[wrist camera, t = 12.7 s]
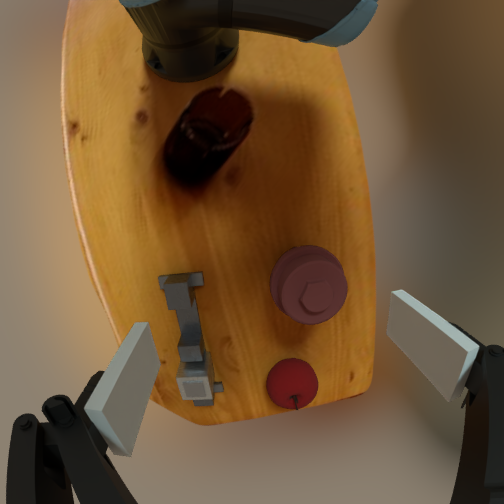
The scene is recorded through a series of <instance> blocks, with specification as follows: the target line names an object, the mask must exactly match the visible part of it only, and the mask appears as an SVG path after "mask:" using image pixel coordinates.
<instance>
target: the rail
mask: <svg viewBox="0 0 504 504" xmlns="http://www.w3.org/2000/svg"><path fill="white" fill-rule="evenodd" d="M158 280H159V285H160V289H164V291H165V296H166V301H167V305H168V310H175V309H176V313H177V317H178V322H179V326H180V331H181V337H180V340H179V343H178V351H179V355H180V358H181V362H192V361H203V355H204V352H206V349H205V345H204V340H203V335H202V330H201V325H200V320H199V314H198V309H197V303H196V298H195V292H194V286H201V285H204V280H203V273H202V271H201V272H191V273H181V274H171V275H161V276H159V277H158ZM214 392H224V388H223V384H222V382H214V387H213V399H204V400H193V402H194V405H195V406H211V405H214Z"/></svg>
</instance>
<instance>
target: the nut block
mask: <svg viewBox="0 0 504 504" xmlns="http://www.w3.org/2000/svg"><path fill="white" fill-rule="evenodd" d="M176 380H177V383H178V387H179V390H180V393H181V396H182V399H183V400H204V399H213V387H214V369H213V364H212V359H211V354H210V352H204V355H203V361H192V362H181V360H180V363H179V367H178V371H177V375H176Z"/></svg>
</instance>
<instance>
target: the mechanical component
mask: <svg viewBox="0 0 504 504" xmlns="http://www.w3.org/2000/svg"><path fill="white" fill-rule="evenodd" d="M270 291H271V294H272V297H273V300H274V302H275V304H276V305H277V307H278V308H279V309H280V310H281V311H282V312H283V313H285V314H286V315H288V316H290V317H291V318H292V319H293V320H295V321H297V322H299V323H302V324H308V325H312V324H319V323H322V322H324V321H327V320H328V319H330V318H332V317H333V316H334V315H335V314H336V313H337V312H338V311H339V310H340V309H341V307H342V306H343V304H344V302H345V299H346V296H347V281H346V278H345V276H344V272H343V269H342V266H341V264H340V262H339V261H338V259H337V258H336V257H335V256H334V255H333V254H331V253H330V252H329V251H327V250H325V249H323V248H321V247H318V246H312V245H306V246H300V247H293V248H292V249H291V250H289V251H287V252H285V253H284V254H283V255H282V256H281V257H280V258H279V260H278V262H277V263H276V264H275V266H274V268H273V270H272V273H271V277H270Z"/></svg>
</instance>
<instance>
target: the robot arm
mask: <svg viewBox="0 0 504 504" xmlns="http://www.w3.org/2000/svg"><path fill="white" fill-rule="evenodd" d="M377 1H378V0H119V2H120V3H121V4H122V5H123V6H124V7H125V9H126V10H127V12H128V13H129V15H130V16H131V18H132V19H133V21H134V22H135V24H136V25H137V27H138V28H139V30H140V31H141V33H142V34H143V38H142V52H143V56H144V59H145V61H146V63H147V64H148V66H149V67H150V68H151V70H152V71H153V72H154V73H155V74H157V75H158V76H160V77H162V78H164V79H166V80H169V81H174V82H194V81H199V80H202V79H205V78H208V77H210V76H212V75H214V74H216V73H218V72H219V71H221V70H222V69H223V68H225V67H226V66H227V65H228V64H229V63H230V62H231V60H232V59H233V58H234V56H235V54H236V52H237V49H238V44H239V30H246V31H253V32H260V33H267V34H273V35H278V36H283V37H288V38H293V39H298V40H299V41H300V42H304V43H311V42H312V43H316V44H321V45H325V46H330V47H338V46H341V45H345V44H348V43H349V42H351V41H353V40H354V39H355V38H356V37H358V36H359V35H360V34H361V32H362V31H363V30H364V29H365V28H366V26H367V25H368V24H369V22H370V21H371V19H372V17H373V16H374V14H375V12H376V9H377V6H378V4H377V3H376V2H377ZM386 334H387V335H388V336H389V337H390V338H391V340H392V341H393V342H394V343H395V344H396V345H397V346H398V347H399V348H400V349H401V350H402V351H403V352H404V353H405V355H406V356H407V357H408V358H409V359H410V360H411V361H412V362H413V363H414V364H415V365H416V366H417V368H418V369H419V370H420V371H421V372H422V373H423V374H424V375H425V376H426V377H427V379H428V380H429V381H430V382H431V383H432V384H433V385H434V386H435V388H436V389H437V390H438V391H439V392H440V393H441V394H442V395H443V396H444V398H445V399H446V400H447V401H448V402H451V401H452V400H454V399H456V398H458V397H460V396H461V393H462V391H463V389H464V387H467V389H468V393H467V395H466V397H465V399H464V401H463V403H462V406H461V408H463V407H464V405H465V404H466V413H465V425H464V435H463V443H462V450H461V456H460V462H459V467H458V473H457V477H456V482H455V486H454V490H453V494H452V498H451V501H450V504H504V348H503V347H501V346H499V345H489V346H487V347H486V346H484V345H483V344H482V343H480V342H479V341H478V340H477V339H475V338H474V337H473V336H471V335H469V334H468V333H467V332H466V331H464V330H463V329H462V328H460V327H459V326H458V325H456V324H453V323H451V322H447V321H446V320H444V319H443V318H441V317H440V316H439V315H437V314H436V313H435V312H433V311H432V310H430V309H429V308H428V307H426V306H425V305H423V304H422V303H421V302H419V301H417V300H416V299H415V298H413V297H412V296H410V295H409V294H408V293H406V292H405V291H403V290H398V291H393V292H391V299H390V309H389V317H388V325H387V332H386ZM160 365H161V364H160V360H159V357H158V354H157V351H156V347H155V344H154V341H153V337H152V334H151V330H150V326H149V323H148V322H136V323H135V324H134V325H133V327H132V328H131V330H130V331H129V333H128V335H127V336H126V338H125V339H124V341H123V343H122V344H121V346H120V347H119V349H118V351H117V352H116V354H115V356H114V357H113V359H112V361H111V362H110V364H109V365H108V367H107V369H106V371H98V372H97V373H96V374H95V375H93V376H92V377H91V379H90V380H89V382H88V384H87V386H86V387H85V388H84V391H83V392H82V393H81V395H80V396H79V398H78V400H77V402H76V403H75V405H73V403H72V401H71V400H70V398H69V397H67V396H65V395H55V396H52V397H50V398H49V399H47V400H46V401H45V402H44V404H43V406H42V412H43V414H44V415H45V417H46V418H47V420H48V421H49V422H45V423H40V422H39V421H38V419H37V418H36V417H35V415H33V414H23V415H21V416H19V417H18V418H17V419H16V420H15V422H14V424H13V430H12V435H11V441H10V448H9V458H8V467H7V485H6V504H74V500H73V493H72V487H71V484H72V486H73V488H74V491H75V493H76V495H77V498H78V500H79V502H80V504H138V503H137V502H136V500H135V499H134V497H133V496H132V494H131V493H130V492H129V490H128V488H127V487H126V485H125V484H124V482H123V481H122V479H121V477H120V476H119V474H118V473H117V471H116V470H115V467H114V466H113V464H112V462H111V461H110V459H109V457H108V456H107V454H106V451H107V448H108V447H109V448H110V450H111V451H112V452H113V454H115V455H121V456H128V457H131V455H132V451H133V448H134V444H135V441H136V438H137V435H138V431H139V428H140V425H141V422H142V419H143V415H144V412H145V409H146V406H147V403H148V400H149V397H150V394H151V391H152V388H153V385H154V382H155V380H156V377H157V374H158V371H159V368H160Z"/></svg>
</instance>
